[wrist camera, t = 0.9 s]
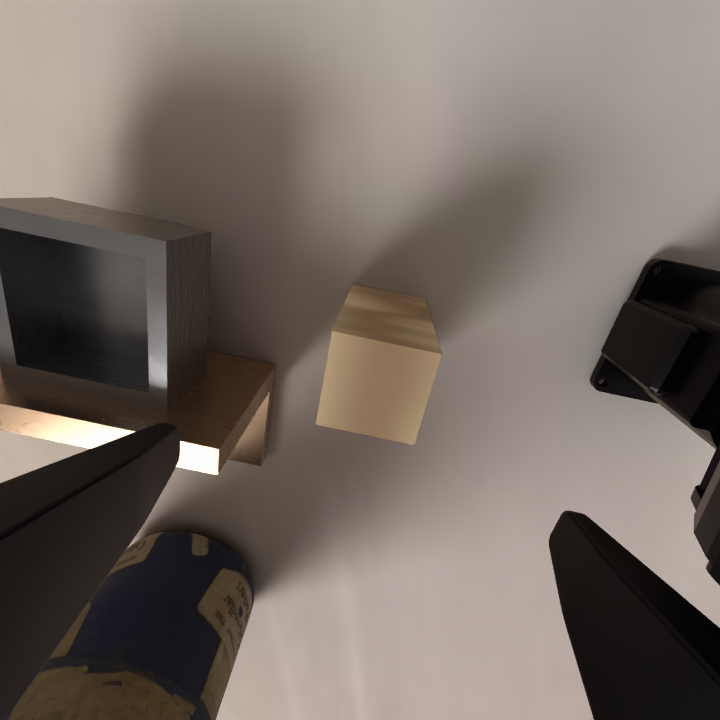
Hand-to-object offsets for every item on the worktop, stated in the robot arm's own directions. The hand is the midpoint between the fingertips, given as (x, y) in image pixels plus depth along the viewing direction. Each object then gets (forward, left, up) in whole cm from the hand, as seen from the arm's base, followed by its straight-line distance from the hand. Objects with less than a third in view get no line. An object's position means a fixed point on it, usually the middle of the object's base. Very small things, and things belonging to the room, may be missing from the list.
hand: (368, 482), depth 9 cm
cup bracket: (+11, +3, -12) cm, 16 cm away
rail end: (0, 0, -12) cm, 12 cm away
